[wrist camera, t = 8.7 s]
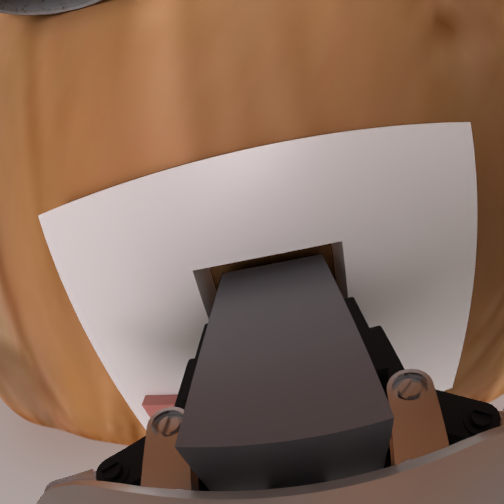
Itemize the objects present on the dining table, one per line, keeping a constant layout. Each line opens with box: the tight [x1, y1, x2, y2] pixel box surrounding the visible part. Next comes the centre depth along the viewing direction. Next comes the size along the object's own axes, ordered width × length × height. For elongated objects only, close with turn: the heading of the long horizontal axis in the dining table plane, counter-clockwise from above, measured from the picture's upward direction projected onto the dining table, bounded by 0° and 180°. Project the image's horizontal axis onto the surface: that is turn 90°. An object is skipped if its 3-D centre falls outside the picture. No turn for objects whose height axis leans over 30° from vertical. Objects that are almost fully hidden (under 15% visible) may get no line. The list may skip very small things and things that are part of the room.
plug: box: [175, 254, 394, 491], centre depth 8 cm, size 4×5×10 cm
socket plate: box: [38, 122, 477, 430], centre depth 13 cm, size 18×14×3 cm
